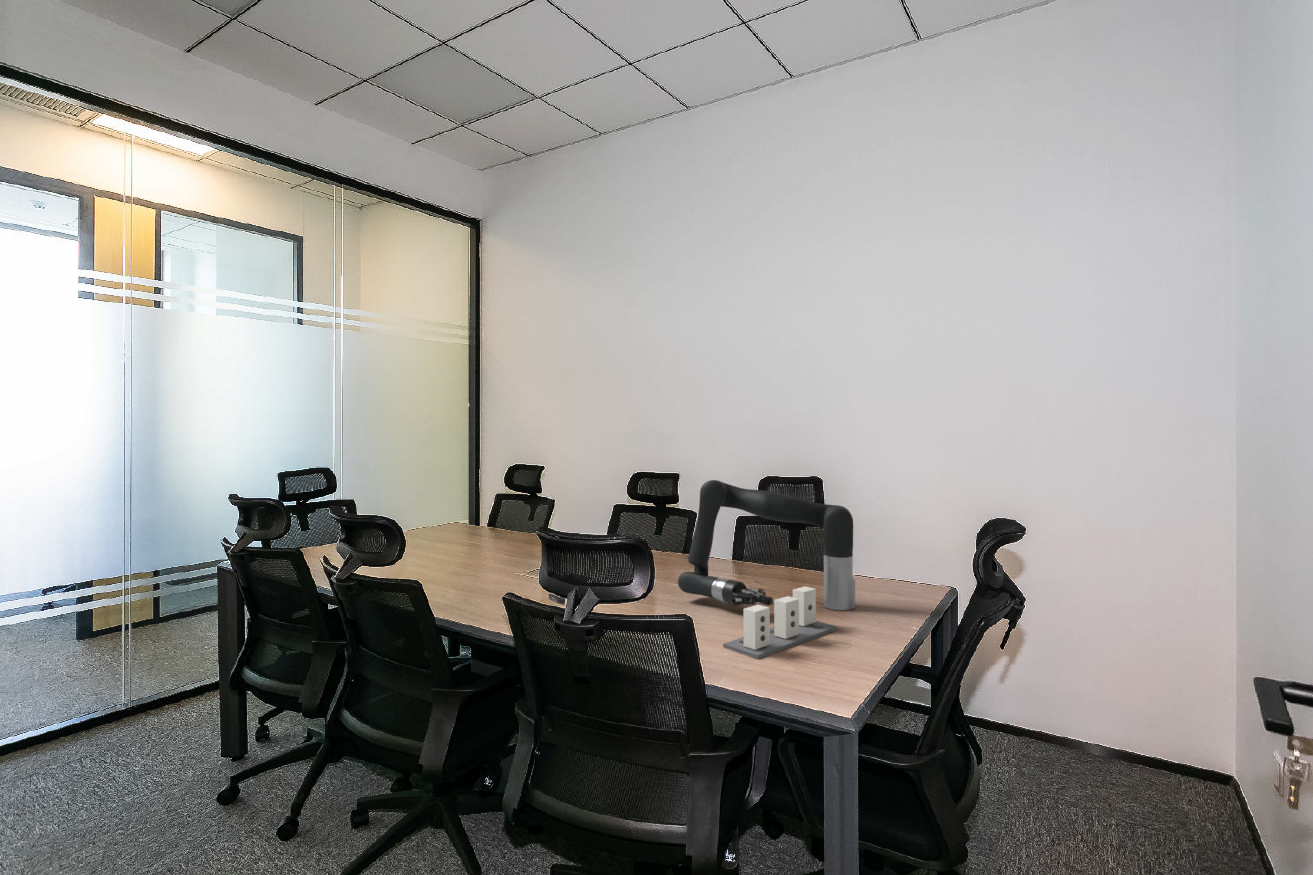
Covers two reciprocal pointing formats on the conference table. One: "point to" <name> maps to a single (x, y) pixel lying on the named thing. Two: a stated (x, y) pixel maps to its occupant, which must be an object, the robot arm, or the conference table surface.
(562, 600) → the media streaming box
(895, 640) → the conference table surface
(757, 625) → the key three dots
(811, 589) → the key one dot
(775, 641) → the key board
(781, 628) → the key two dots
